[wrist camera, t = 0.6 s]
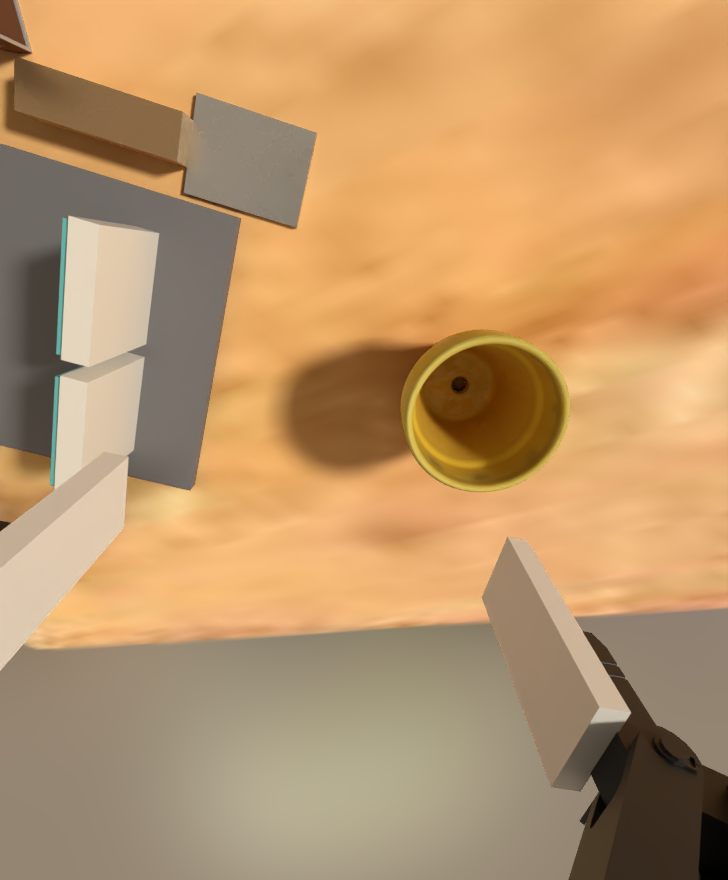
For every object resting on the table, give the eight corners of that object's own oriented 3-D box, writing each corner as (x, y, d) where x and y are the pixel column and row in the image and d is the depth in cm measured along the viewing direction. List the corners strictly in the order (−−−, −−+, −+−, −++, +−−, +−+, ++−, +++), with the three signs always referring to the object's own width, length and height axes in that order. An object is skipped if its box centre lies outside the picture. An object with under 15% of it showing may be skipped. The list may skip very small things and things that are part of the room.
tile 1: (129, 224, 32) (60, 213, 24) (159, 233, 32) (99, 224, 25) (119, 336, 35) (53, 357, 27) (146, 344, 35) (88, 367, 27)
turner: (38, 147, 31) (13, 139, 29) (41, 42, 29) (15, 24, 27) (297, 228, 33) (292, 225, 31) (317, 134, 31) (314, 125, 29)
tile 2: (117, 349, 35) (53, 373, 27) (144, 356, 35) (87, 382, 28) (108, 443, 38) (47, 489, 30) (133, 450, 38) (79, 496, 30)
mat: (-26, 135, 31) (-40, 131, 30) (240, 218, 33) (236, 217, 32) (-22, 432, 38) (-33, 437, 37) (194, 484, 40) (190, 490, 39)
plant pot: (515, 304, 35) (570, 319, 26) (523, 428, 39) (574, 479, 30) (382, 330, 36) (391, 354, 27) (403, 450, 40) (417, 507, 30)
